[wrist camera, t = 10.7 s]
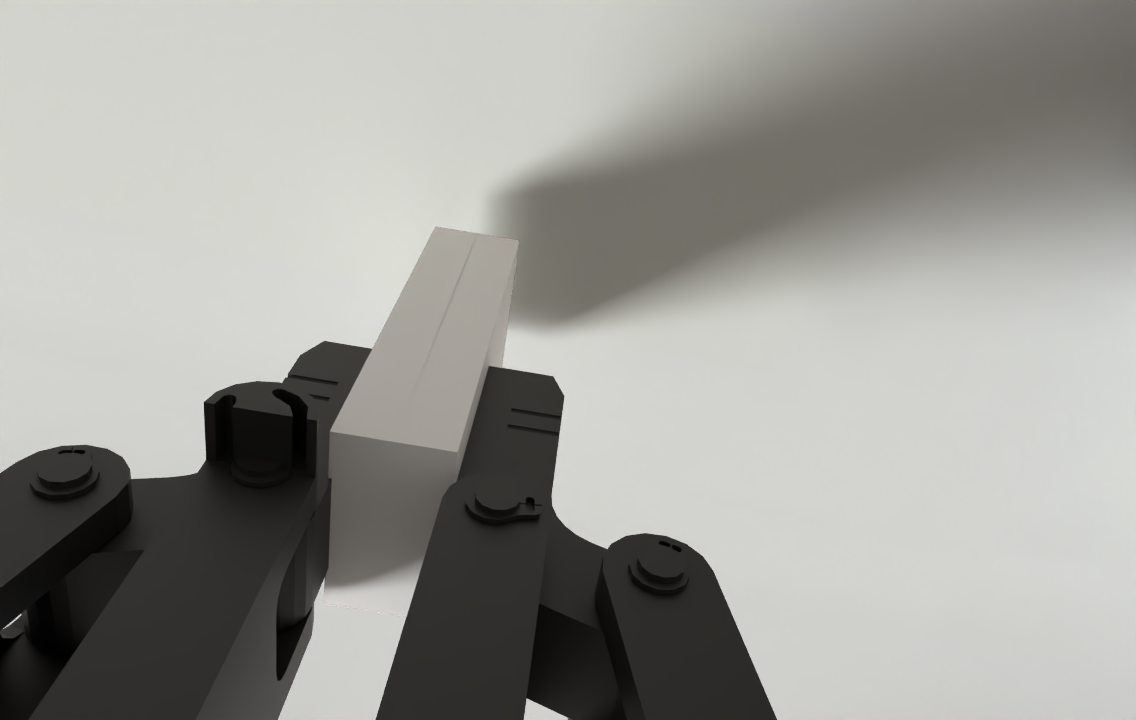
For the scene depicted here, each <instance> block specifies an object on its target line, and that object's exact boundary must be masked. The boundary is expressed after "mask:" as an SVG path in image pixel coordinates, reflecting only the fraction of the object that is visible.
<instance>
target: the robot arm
mask: <svg viewBox="0 0 1136 720" xmlns="http://www.w3.org/2000/svg"><path fill="white" fill-rule="evenodd" d="M518 247H519V240H513V239H507V238H501V237H495V236H489V235H483V234H477V233H471V232H466V231H460V230H454V229H448V228H442V227H435V228H434V230H433V232H432V234H431V236H430V238H429V240H428V242H427V244H426V246H425V248H424V250H423V252H422V254H421V256H420V258H419V259H418V261H417V263H416V265H415V267H414V269H413V271H412V273H411V275H410V277H409V279H408V281H407V283H406V285H405V287H404V288H403V290H402V292H401V294H400V296H399V298H398V300H397V302H396V304H395V306H394V308H393V310H392V312H391V314H390V316H389V318H388V319H387V321H386V323H385V325H384V327H383V329H382V331H381V333H380V335H379V337H378V339H377V341H376V343H375V345H374V347H373V348H372V349H370V348H363V347H357V346H351V345H345V344H339V343H333V342H327V341H324V342H322V343H320V344H319V345H317V346H315V347H313V348H312V349H310V350H308V351H307V352H305V353H303V354H301V355H300V356H299V358H298V359H297V361H296V363H295V364H294V366H293V367H292V369H291V370H290V372H289V373H288V378H285V379H284V381H283V383H278V382H260V381H256V382H249V383H242V384H235V385H233V386H230V387H227V388H225V389H222V390H220V391H217V392H216V393H214V394H213V395H212V396H211V397H210V398H208V399H207V400H206V401H205V402H204V418H205V441H206V461H205V463H204V464H203V466H202V467H201V469H200V470H199V471H198V473H195V474H191V475H187V476H178V477H169V478H148V479H131V475H130V468H129V467H128V465H127V464H126V462H125V460H124V459H123V457H121V456H119V455H118V454H116V453H114V452H112V451H110V450H108V449H105V448H100V447H94V446H89V445H74V446H60V447H56V448H52V449H47V450H43V451H39V452H37V453H35V454H32V455H30V456H28V457H26V458H24V459H22V460H20V461H18V462H16V463H15V464H13V465H12V466H10V467H9V468H7V469H6V470H4V471H3V472H1V473H0V720H278V717H279V715H280V712H281V710H282V707H283V705H284V702H285V700H286V698H287V695H288V693H289V690H290V688H291V685H292V683H293V680H294V678H295V675H296V673H297V670H298V668H299V665H300V663H301V660H302V658H303V655H304V653H305V650H306V648H307V645H308V643H309V641H310V638H311V636H312V629H313V621H314V601H315V599H316V596H317V594H318V592H319V589H320V587H321V584H322V582H323V580H324V577H325V585H324V604H326V605H333V606H339V607H345V608H351V609H358V610H364V611H370V612H376V613H383V614H389V615H395V616H401V617H406V620H405V624H404V627H403V630H402V634H401V637H400V640H399V644H398V647H397V650H396V654H395V657H394V660H393V664H392V667H391V670H390V674H389V677H388V680H387V684H386V687H385V690H384V694H383V697H382V700H381V704H380V707H379V710H378V714H377V717H376V720H524V713H525V705H526V698H527V699H530V700H532V701H534V702H536V703H538V704H540V705H542V706H544V707H547V708H549V709H551V710H553V711H555V712H557V713H559V714H561V715H564V716H566V717H568V720H777V719H776V716H775V714H774V712H773V709H772V707H771V705H770V702H769V700H768V698H767V695H766V693H765V691H764V688H763V686H762V684H761V681H760V679H759V677H758V674H757V672H756V670H755V667H754V665H753V663H752V660H751V658H750V656H749V653H748V651H747V649H746V646H745V644H744V642H743V639H742V637H741V635H740V632H739V630H738V628H737V625H736V623H735V621H734V618H733V616H732V614H731V611H730V609H729V607H728V604H727V602H726V600H725V597H724V595H723V593H722V590H721V588H720V586H719V583H718V581H717V579H716V576H715V574H714V572H713V570H712V569H711V567H710V566H709V564H708V563H707V562H706V560H705V559H704V557H703V556H702V555H700V554H699V553H698V552H696V551H695V550H694V549H692V548H691V547H690V546H688V545H687V544H685V543H682V542H680V541H677V540H675V539H672V538H670V537H667V536H662V535H654V534H647V533H644V534H637V535H630V536H625V537H623V538H621V539H620V540H618V541H616V542H614V543H612V544H611V545H610V547H609V548H608V549H605V548H603V547H600V546H598V545H595V544H593V543H591V542H589V541H587V540H585V539H583V538H581V537H579V536H577V535H576V534H574V533H573V532H572V531H571V530H569V529H568V528H567V527H565V526H564V524H563V523H562V522H561V521H560V520H559V518H558V517H557V516H556V513H555V511H554V509H553V507H552V497H551V494H552V487H553V479H554V471H555V464H556V456H557V448H558V441H559V433H560V425H561V417H562V410H563V402H564V395H563V393H562V391H561V389H560V388H559V386H558V384H557V382H556V381H555V379H554V377H553V376H548V375H541V374H535V373H529V372H523V371H517V370H511V369H505V368H502V364H503V356H504V349H505V342H506V334H507V327H508V320H509V312H510V305H511V298H512V291H513V283H514V276H515V269H516V261H517V254H518ZM20 614H21V615H22V616H20V617H19V618H18V619H17V620H16V621H15V622H13V623H12V624H11V625H10V626H8V627H6V628H4V627H5V626H7V625H8V624H9V623H10V622H11V621H13V620H14V619H15V618H16V617H17V616H18V615H20ZM3 628H4V629H3ZM2 629H3V630H2Z"/></svg>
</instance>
